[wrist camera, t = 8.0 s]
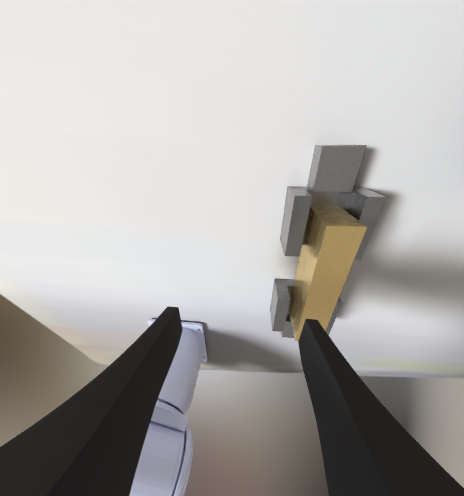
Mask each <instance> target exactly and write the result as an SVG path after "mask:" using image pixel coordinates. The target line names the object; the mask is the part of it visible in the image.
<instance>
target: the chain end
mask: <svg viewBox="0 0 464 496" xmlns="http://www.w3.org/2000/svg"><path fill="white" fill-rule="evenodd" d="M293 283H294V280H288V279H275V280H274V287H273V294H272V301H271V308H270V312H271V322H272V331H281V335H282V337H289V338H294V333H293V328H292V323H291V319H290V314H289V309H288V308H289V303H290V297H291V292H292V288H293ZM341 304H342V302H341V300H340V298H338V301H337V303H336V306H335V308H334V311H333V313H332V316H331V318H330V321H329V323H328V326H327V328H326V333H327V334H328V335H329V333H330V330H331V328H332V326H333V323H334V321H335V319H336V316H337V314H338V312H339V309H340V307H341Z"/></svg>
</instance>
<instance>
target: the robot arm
mask: <svg viewBox="0 0 464 496" xmlns="http://www.w3.org/2000/svg"><path fill="white" fill-rule="evenodd" d="M148 325H149V328H148V329H147V330H146V331H145V332H144V333H143V334H142V335H141V336H140V337H139V338H138V339H137V340H136V341H135V342H134V343H133V344H132V345H131V346H130V347H129V348H128V349H127V350H126V351H125V352H124V353H123V354H122V355H121V356H120V357H119V358H117V359H116V360H115V361H114V362H113V363H112V364H111V365H110V366H109V367H107V368H106V369H105V370H104V371H103V372H102V373H101V374H99V375H98V376H97V377H96V378H94V379H93V380H92V381H91V382H90V383H88V384H87V385H86V386H85V387H83V388H82V389H81V390H80V391H78V392H77V393H76V394H75V395H73V396H72V397H71V398H69V399H68V400H67V401H65V402H64V403H63V404H61V405H60V406H59V407H57V408H56V409H55V410H53V411H52V412H50V413H49V414H48V415H46V416H45V417H43V418H42V419H41V420H40V421H38V422H37V423H35V424H34V425H32V426H31V427H29V428H28V429H27V430H25V431H24V432H22V433H21V434H19V435H18V436H16V437H15V438H13V439H12V440H10V441H9V442H7V443H6V444H4V445H3V446H1V447H0V496H183V495H184V492H185V489H186V485H187V481H188V478H189V473H190V468H191V462H192V454H193V440H192V436H191V431H190V429H189V427H186V426H187V421H188V416H186V415H185V414H186V413H187V411H188V409H189V407H190V405H191V402H192V398H193V393H194V389H195V385H196V381H197V377H198V372H199V368H200V364H201V362H207V359H208V358H207V351H206V344H205V337H204V330H203V325H202V324H201V323H193V322H181V318H180V314H179V309H178V307H167V308H166V309H165V310H164V311H163V312H162V314H161V315H160V316H159V317H158V318H157V319H150V320H149V321H148ZM298 342H299V349H300V356H301V362H302V366H303V370H304V374H305V378H306V382H307V385H308V389H309V393H310V397H311V401H312V405H313V409H314V413H315V417H316V422H317V426H318V432H319V438H320V443H321V449H322V455H323V460H324V467H325V473H326V479H327V485H328V493H329V496H464V488H463V487H462V486H461V485H460V484H459V483H458V482H456V481H455V479H454V478H452V477H451V476H450V475H449V474H448V473H447V472H446V471H445V470H444V469H443V468H442V467H441V466H440V465H439V464H438V463H437V462H436V461H435V460H434V459H433V458H432V457H431V456H430V455H429V453H428V452H426V450H425V449H423V447H421V445H420V444H419V443H418V442H417V441H416V440H415V439H414V438H413V437H412V436H411V435H410V434H409V433H408V432H407V431H406V430H405V429H404V428H403V427H402V426H401V425H400V423H399V422H398V421H397V420H396V419H395V418H394V417H393V416H392V415H391V414H390V412H389V411H388V410H387V409H386V408H385V407H384V406H383V405H382V404H381V402H380V401H379V400H378V399H377V398H376V397H375V395H374V394H373V393H372V392H371V391H370V390H369V388H368V387H367V386H366V385H365V383H364V382H363V381H362V380H361V378H360V377H359V376H358V375H357V373H356V372H355V371H354V370H353V368H352V367H351V366H350V364H349V363H348V362H347V360H346V359H345V358H344V356H343V355H342V354H341V352H340V351H339V350H338V348H337V347H336V346H335V344H334V343H333V341H332V340H331V339H330V337H329V336H328V334H327V333H326V331H325V330H324V328H323V327H322V325H321V324H320V322H319V321H318V320H315V319H305V322H304V325H303V329H302V332H301V335H300V338H299V341H298Z"/></svg>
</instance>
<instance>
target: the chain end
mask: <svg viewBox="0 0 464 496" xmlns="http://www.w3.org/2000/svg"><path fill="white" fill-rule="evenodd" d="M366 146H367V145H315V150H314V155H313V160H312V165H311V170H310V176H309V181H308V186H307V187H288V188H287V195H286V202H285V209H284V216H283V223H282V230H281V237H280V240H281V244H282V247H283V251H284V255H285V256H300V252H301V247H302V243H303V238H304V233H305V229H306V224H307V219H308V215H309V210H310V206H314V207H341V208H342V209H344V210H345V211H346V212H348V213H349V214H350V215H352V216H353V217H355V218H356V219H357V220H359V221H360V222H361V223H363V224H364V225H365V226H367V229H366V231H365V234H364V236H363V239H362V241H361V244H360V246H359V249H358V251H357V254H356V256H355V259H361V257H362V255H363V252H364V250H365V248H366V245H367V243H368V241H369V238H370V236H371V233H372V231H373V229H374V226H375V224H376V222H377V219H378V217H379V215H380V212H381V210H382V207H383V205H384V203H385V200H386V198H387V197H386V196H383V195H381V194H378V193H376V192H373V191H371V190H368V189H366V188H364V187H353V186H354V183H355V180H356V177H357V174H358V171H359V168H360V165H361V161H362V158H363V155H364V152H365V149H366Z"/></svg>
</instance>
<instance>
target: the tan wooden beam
mask: <svg viewBox="0 0 464 496" xmlns="http://www.w3.org/2000/svg"><path fill="white" fill-rule="evenodd" d="M366 229H367V226H365V225H364V224H363V223H361V222H360V221H359V220H357V219H356V218H355V217H353V216H352V215H350V214H349V213H348V212H346V211H345V210H344V209H342V208H341V207H314V206H310V210H309V215H308V219H307V224H306V229H305V233H304V238H303V243H302V247H301V252H300V256H299V259H298V264H297V269H296V273H295V278H294V283H293V288H292V292H291V297H290V303H289V308H288V309H289V314H290V319H291V323H292V328H293V333H294V338H295V340H298V341H299V338H300V335H301V332H302V329H303V325H304V322H305V319H315V320H318V321H319V322H320V324H321V325H322V327H323V328H324V330H325V331H326V328H327V326H328V323H329V321H330V318H331V316H332V313H333V311H334V308H335V306H336V303H337V301H338V298H339V296H340V293H341V291H342V288H343V286H344V284H345V281H346V279H347V276H348V274H349V271H350V269H351V266H352V264H353V261H354V259H355V256H356V254H357V251H358V249H359V246H360V244H361V241H362V239H363V236H364V234H365V231H366Z"/></svg>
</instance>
